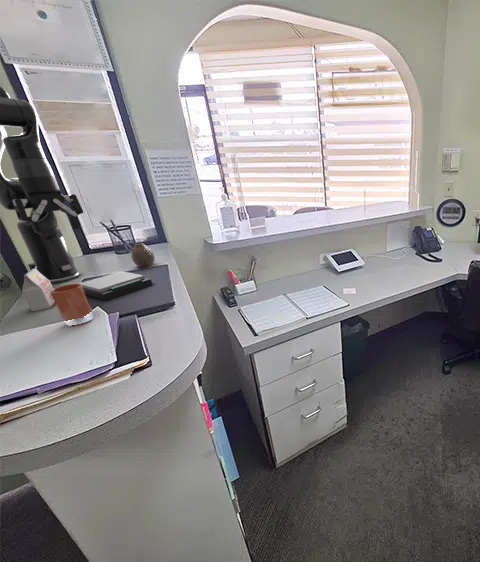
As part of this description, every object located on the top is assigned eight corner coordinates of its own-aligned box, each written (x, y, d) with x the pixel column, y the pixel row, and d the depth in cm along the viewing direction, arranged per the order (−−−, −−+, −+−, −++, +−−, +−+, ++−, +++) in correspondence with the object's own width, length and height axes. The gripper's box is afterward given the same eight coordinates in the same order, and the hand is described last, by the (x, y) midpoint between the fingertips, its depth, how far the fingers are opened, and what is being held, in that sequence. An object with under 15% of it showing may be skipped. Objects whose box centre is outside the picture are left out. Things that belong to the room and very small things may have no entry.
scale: (78, 293, 94) (75, 283, 93) (125, 278, 105) (122, 270, 104) (105, 300, 88) (102, 291, 87) (152, 284, 99) (149, 275, 98)
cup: (61, 324, 76) (45, 290, 72) (87, 314, 80) (74, 282, 77) (72, 328, 73) (57, 293, 70) (99, 318, 78) (85, 285, 75)
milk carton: (31, 311, 83) (14, 276, 79) (40, 302, 88) (25, 269, 85) (50, 307, 85) (34, 273, 81) (58, 299, 90) (43, 267, 86)
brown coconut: (145, 269, 114) (138, 246, 111) (130, 268, 116) (122, 245, 112) (161, 263, 121) (154, 241, 117) (146, 262, 122) (139, 240, 119)
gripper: (60, 175, 97) (81, 227, 102) (-5, 178, 85) (22, 236, 90) (73, 174, 94) (93, 227, 99) (7, 176, 82) (34, 236, 87)
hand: (59, 231), depth 95 cm, fingers open, 8 cm apart
